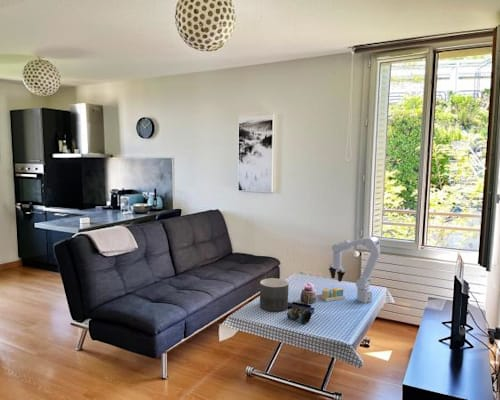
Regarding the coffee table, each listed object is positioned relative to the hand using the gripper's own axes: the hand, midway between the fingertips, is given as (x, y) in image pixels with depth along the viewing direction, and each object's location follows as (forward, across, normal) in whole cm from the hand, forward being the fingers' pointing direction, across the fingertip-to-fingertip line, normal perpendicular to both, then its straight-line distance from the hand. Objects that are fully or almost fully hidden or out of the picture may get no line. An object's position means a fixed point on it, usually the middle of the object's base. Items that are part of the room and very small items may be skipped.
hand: (336, 279), depth 266 cm
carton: (+9, -7, +13) cm, 17 cm away
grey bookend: (+10, -6, +9) cm, 15 cm away
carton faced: (+9, -8, +5) cm, 13 cm away
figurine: (+11, -28, +48) cm, 56 cm away
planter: (+11, -4, +51) cm, 52 cm away
